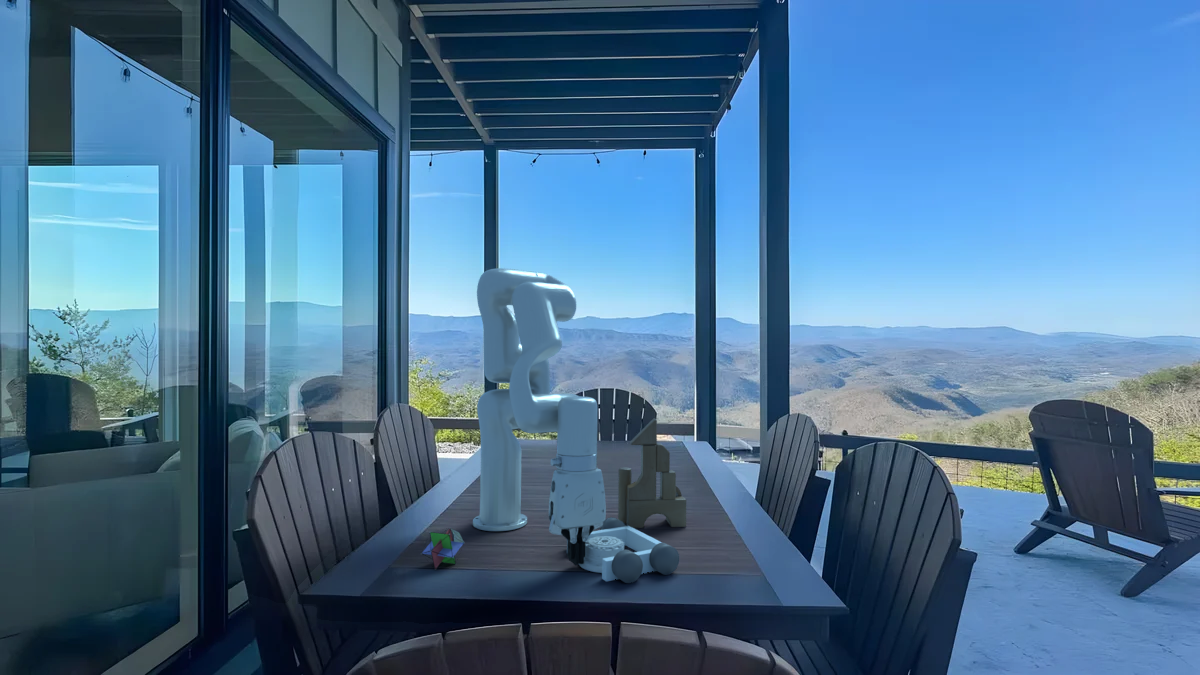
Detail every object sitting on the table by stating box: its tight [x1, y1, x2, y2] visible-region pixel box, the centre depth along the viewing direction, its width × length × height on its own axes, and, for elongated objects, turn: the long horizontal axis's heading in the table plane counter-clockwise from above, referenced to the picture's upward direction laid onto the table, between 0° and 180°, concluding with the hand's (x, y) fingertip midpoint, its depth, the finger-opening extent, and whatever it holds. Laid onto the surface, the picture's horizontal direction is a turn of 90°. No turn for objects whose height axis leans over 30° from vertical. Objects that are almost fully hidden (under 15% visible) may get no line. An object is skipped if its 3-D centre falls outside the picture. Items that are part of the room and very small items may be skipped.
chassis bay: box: [575, 517, 680, 584], centre depth 107 cm, size 21×14×5 cm
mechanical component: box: [578, 536, 625, 574], centre depth 105 cm, size 10×4×10 cm
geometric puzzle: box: [420, 527, 465, 570], centre depth 104 cm, size 7×7×8 cm
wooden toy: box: [617, 418, 687, 529], centre depth 132 cm, size 16×7×25 cm, turn 96°
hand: (576, 562), depth 102 cm, fingers closed
